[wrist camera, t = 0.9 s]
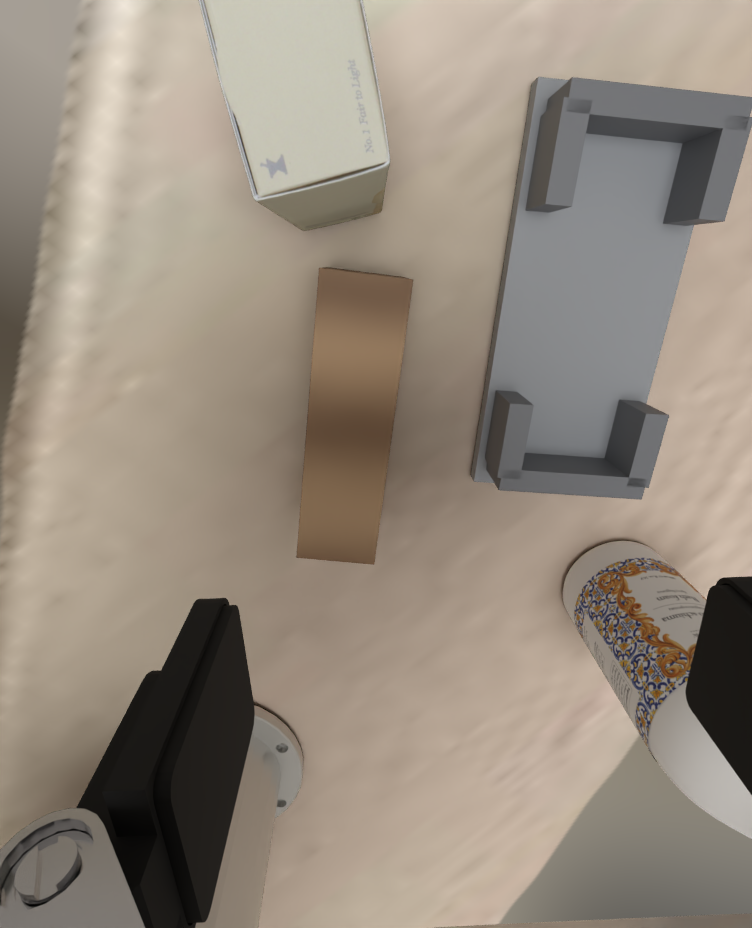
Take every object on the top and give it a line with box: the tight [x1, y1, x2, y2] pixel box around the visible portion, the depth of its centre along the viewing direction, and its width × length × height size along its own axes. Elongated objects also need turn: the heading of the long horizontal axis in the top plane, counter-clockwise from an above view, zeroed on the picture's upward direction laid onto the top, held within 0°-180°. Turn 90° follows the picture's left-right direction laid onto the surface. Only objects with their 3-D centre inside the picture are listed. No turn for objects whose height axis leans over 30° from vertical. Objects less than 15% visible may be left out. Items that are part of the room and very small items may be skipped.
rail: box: [471, 77, 752, 499], centre depth 27 cm, size 20×9×4 cm, turn 175°
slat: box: [296, 267, 413, 564], centre depth 28 cm, size 14×4×6 cm, turn 173°
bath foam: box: [563, 541, 752, 839], centre depth 26 cm, size 7×7×20 cm
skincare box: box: [198, 0, 390, 231], centre depth 20 cm, size 6×4×12 cm
